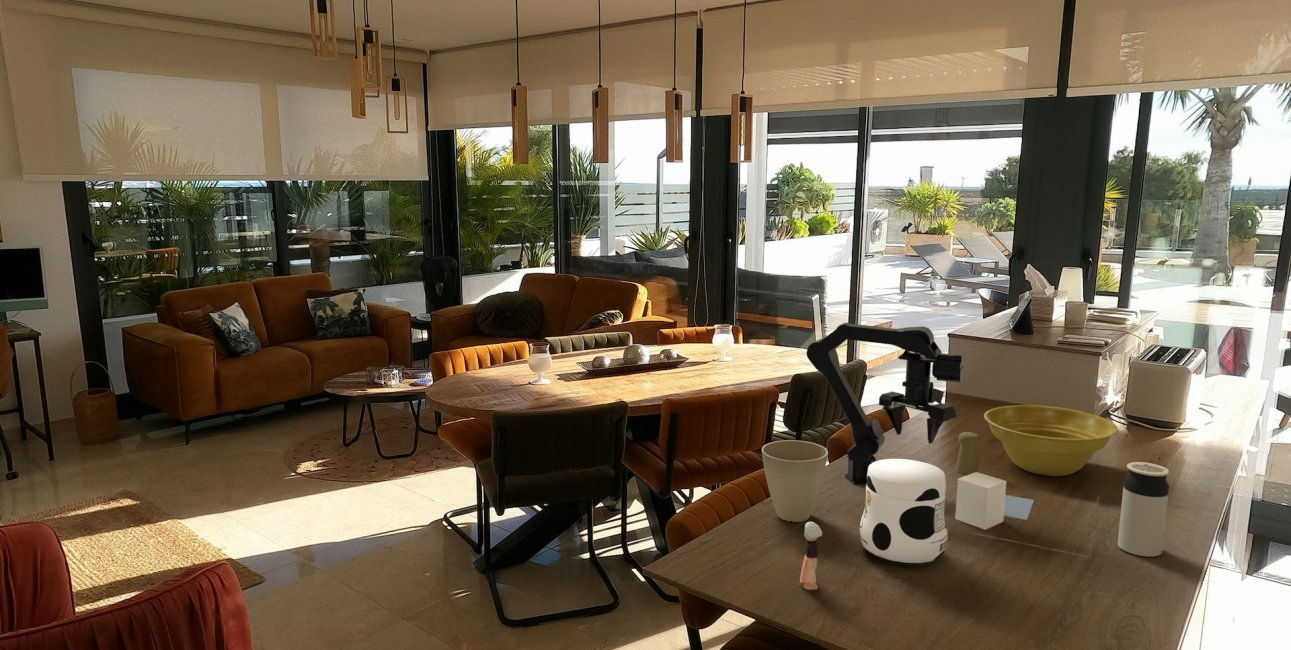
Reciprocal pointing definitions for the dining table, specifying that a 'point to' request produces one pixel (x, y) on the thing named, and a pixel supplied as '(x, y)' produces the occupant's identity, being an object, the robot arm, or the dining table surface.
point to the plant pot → (794, 476)
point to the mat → (1017, 507)
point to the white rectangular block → (980, 500)
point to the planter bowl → (1049, 437)
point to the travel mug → (1143, 509)
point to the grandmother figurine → (810, 556)
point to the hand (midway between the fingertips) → (914, 438)
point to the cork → (967, 453)
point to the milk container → (904, 512)
